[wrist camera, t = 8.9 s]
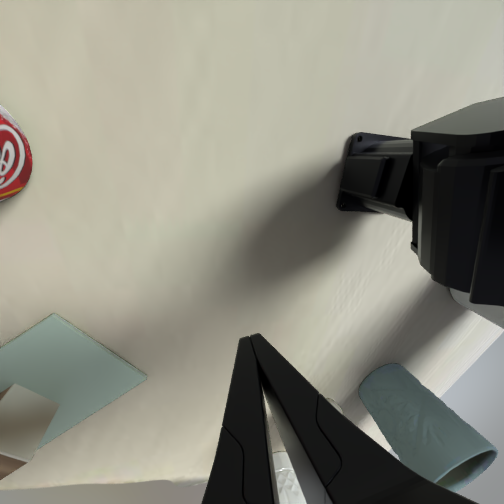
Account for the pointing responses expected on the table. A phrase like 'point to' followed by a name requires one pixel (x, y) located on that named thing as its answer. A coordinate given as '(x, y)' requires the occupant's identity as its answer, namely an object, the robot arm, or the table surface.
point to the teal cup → (425, 429)
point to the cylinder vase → (480, 308)
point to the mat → (65, 371)
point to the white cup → (287, 480)
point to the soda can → (13, 156)
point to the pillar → (22, 426)
